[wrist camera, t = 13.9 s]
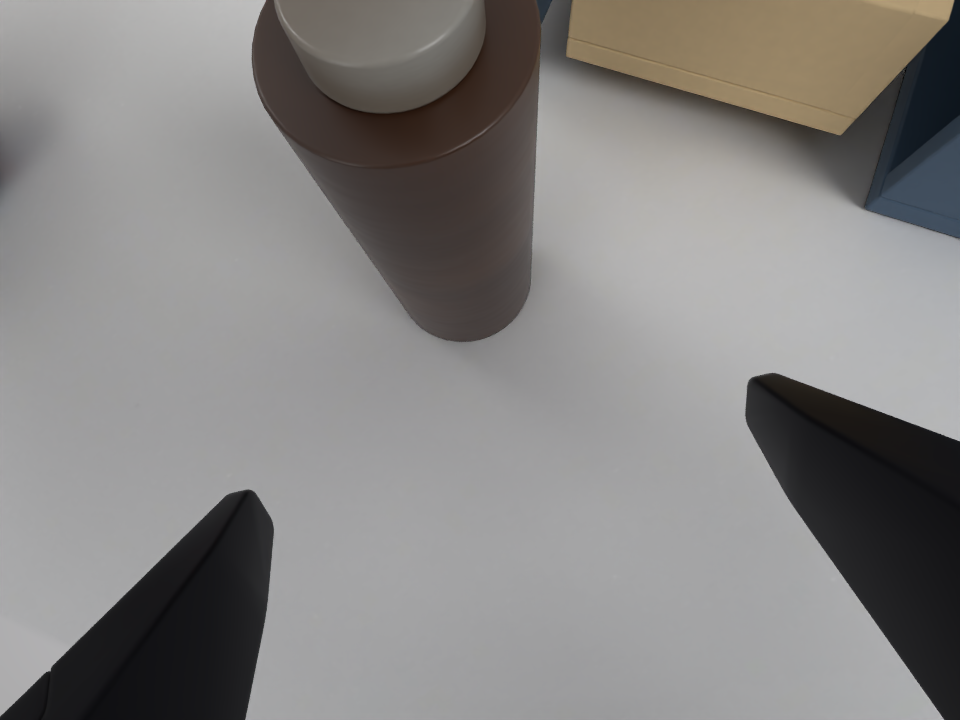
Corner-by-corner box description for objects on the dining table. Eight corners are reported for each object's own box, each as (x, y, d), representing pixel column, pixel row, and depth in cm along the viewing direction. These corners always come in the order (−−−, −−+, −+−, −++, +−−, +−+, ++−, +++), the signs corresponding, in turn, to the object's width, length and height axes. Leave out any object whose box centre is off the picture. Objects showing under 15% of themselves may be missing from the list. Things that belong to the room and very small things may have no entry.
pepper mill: (550, 242, 18) (593, -118, 7) (500, 362, 17) (462, 165, 6) (430, 200, 18) (302, -187, 8) (377, 314, 18) (152, 62, 7)
